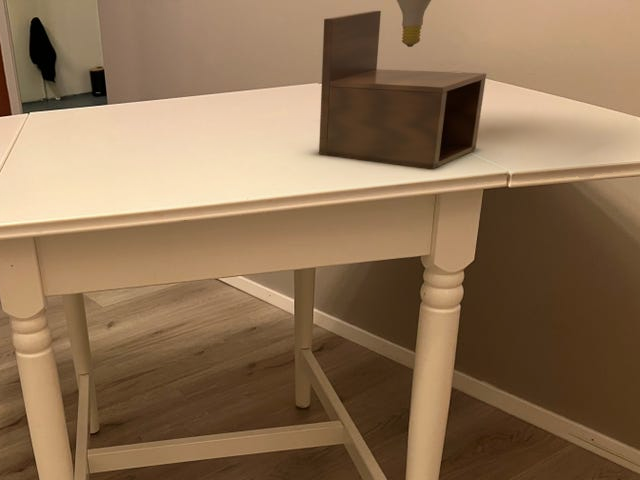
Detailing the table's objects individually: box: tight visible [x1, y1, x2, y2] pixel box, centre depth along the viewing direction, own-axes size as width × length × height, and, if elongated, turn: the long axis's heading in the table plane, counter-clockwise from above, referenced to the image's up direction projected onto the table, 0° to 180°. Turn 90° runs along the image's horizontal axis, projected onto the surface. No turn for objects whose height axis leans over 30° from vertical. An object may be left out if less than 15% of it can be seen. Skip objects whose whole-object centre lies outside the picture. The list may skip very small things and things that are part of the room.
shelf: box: [318, 10, 487, 170], centre depth 87 cm, size 16×11×16 cm
